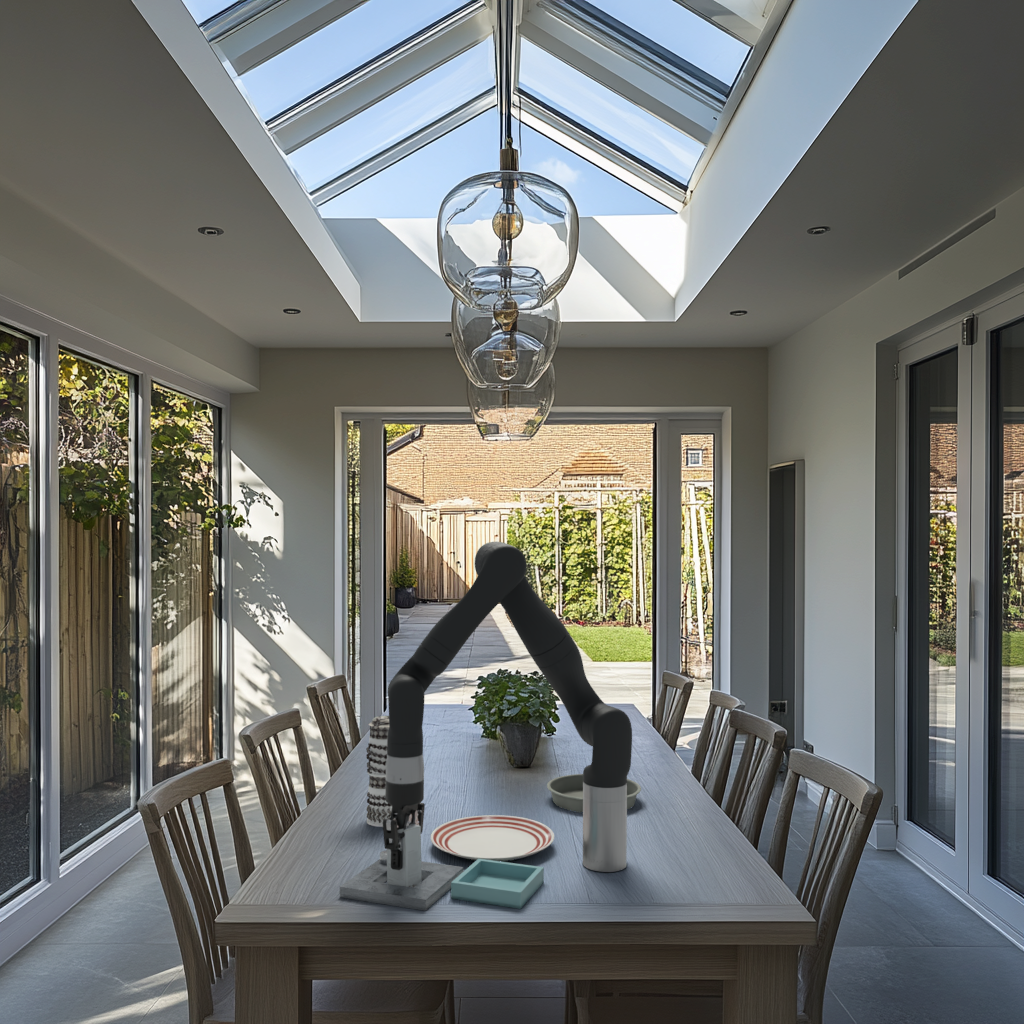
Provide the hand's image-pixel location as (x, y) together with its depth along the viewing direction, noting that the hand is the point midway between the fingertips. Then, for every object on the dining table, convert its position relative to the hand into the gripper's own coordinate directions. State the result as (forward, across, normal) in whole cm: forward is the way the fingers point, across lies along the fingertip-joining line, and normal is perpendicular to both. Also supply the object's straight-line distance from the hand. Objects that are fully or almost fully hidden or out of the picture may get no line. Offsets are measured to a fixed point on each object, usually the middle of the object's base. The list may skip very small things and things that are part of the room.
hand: (403, 863), depth 179 cm
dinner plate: (+5, +28, -8) cm, 30 cm away
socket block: (+4, 0, 0) cm, 4 cm away
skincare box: (+5, 0, 0) cm, 5 cm away
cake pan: (+5, +71, -20) cm, 74 cm away
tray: (+4, +5, -18) cm, 19 cm away
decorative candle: (+5, +36, +23) cm, 43 cm away
